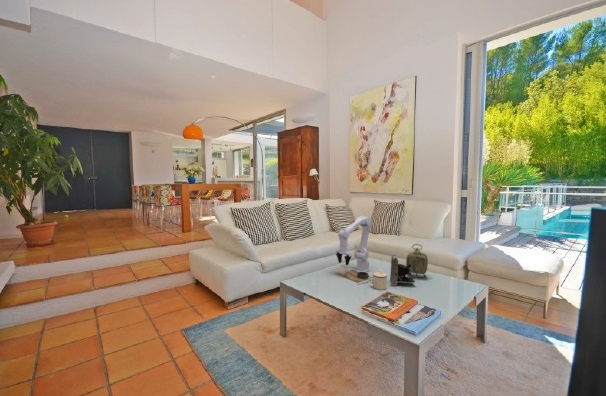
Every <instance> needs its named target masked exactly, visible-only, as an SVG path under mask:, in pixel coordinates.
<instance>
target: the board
mask: <svg viewBox="0 0 606 396" xmlns="http://www.w3.org/2000/svg"><path fill="white" fill-rule="evenodd" d="M358 272H359V270H358V271H357V270H354V269H351V270H347V275H346V276H342V275H341V272H340V273H336V276H339V277H342V278H344V279H347V280H350V281H352V282H354V283H356V284H357V286H359V285H362V284H366V283H368V282H369V277H370V276H371V275H369V274H368V278H367V279H361V278H358V277H357V273H358ZM372 279H373V278H372V277H371V278H370V281H371V282H372ZM367 280H368V281H367Z"/></svg>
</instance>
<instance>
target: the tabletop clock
mask: <svg viewBox="0 0 606 396" xmlns="http://www.w3.org/2000/svg"><path fill="white" fill-rule="evenodd" d="M414 246H419V247H421V248H418V247H417V248H416V247H414ZM411 247H412V249H413V250H414V251H409V253H408V254H407V257H406V261H405V262H406V263H405V266H409V265H408V264H410V265H411V267H409V269H410V272H409V274H408V276H411V274H415V276H414V278H416V279H418V275H423V277H424V278H425V277H427V276H426V274H427V270H428V266H429V265H428V264H429V263H428V261H429V259H428V256H427V254H426V253H424V252H421V250H422V249H423V246H422V245H421V244H419V243H417V244H416V243H415V244H413V245H412V246H411Z"/></svg>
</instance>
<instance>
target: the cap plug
mask: <svg viewBox="0 0 606 396" xmlns="http://www.w3.org/2000/svg"><path fill="white" fill-rule="evenodd" d="M347 271H348V265H346V264H341V265H340V273H341V275H342V276H346V275H347Z"/></svg>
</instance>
